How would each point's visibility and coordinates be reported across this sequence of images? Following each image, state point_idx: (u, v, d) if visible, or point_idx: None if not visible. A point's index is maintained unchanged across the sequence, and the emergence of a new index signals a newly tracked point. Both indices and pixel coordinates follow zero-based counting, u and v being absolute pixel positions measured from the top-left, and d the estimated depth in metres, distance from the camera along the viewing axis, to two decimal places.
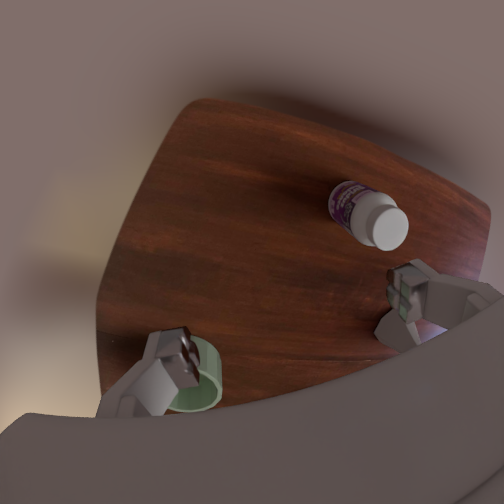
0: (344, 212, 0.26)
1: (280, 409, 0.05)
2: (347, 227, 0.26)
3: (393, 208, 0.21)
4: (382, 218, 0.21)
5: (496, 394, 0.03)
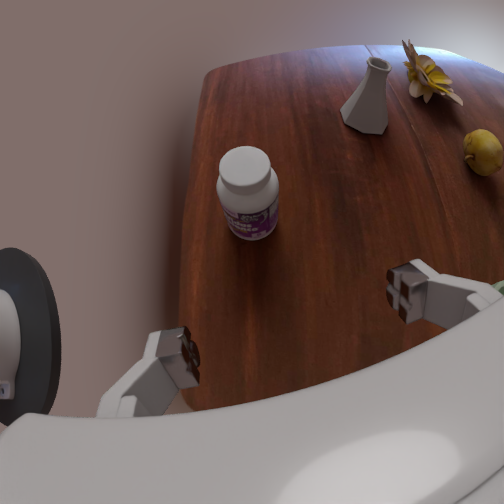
0: (254, 221, 0.24)
1: (280, 409, 0.05)
2: (268, 211, 0.24)
3: (220, 172, 0.21)
4: (234, 180, 0.20)
5: (496, 394, 0.03)
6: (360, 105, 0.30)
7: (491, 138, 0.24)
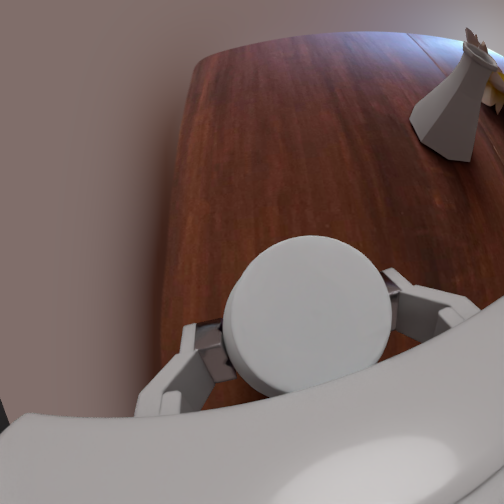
0: None
1: (280, 409, 0.05)
2: None
3: (235, 341, 0.06)
4: (286, 377, 0.06)
5: (496, 394, 0.03)
6: (449, 116, 0.16)
7: None
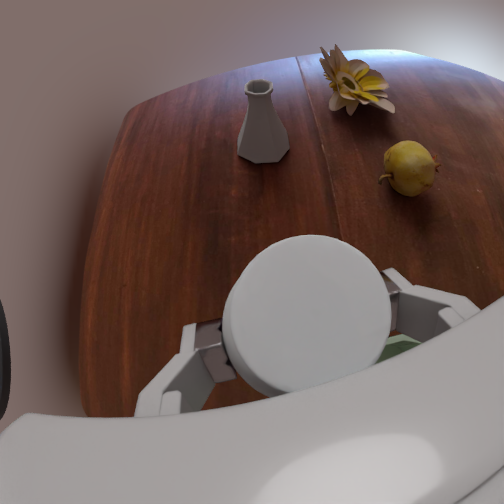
0: None
1: (280, 409, 0.05)
2: None
3: (234, 340, 0.06)
4: (286, 376, 0.06)
5: (496, 395, 0.03)
6: (247, 135, 0.32)
7: (416, 151, 0.26)
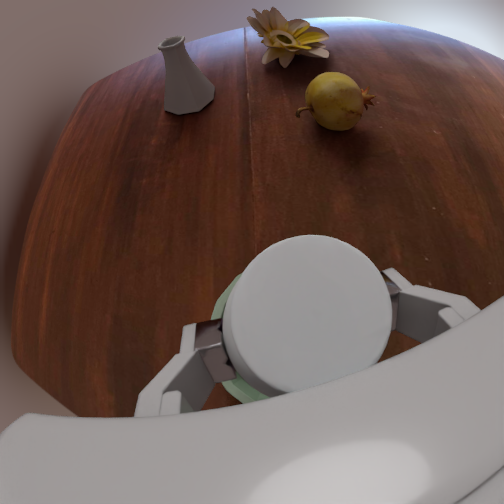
0: None
1: (280, 409, 0.05)
2: None
3: (235, 341, 0.06)
4: (286, 377, 0.06)
5: (497, 394, 0.03)
6: (168, 88, 0.30)
7: (334, 78, 0.24)
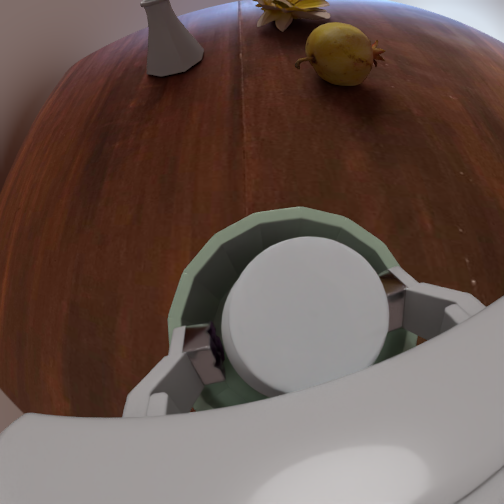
0: None
1: (280, 409, 0.05)
2: None
3: (233, 341, 0.06)
4: (285, 377, 0.06)
5: (496, 394, 0.03)
6: (151, 48, 0.23)
7: (339, 26, 0.18)
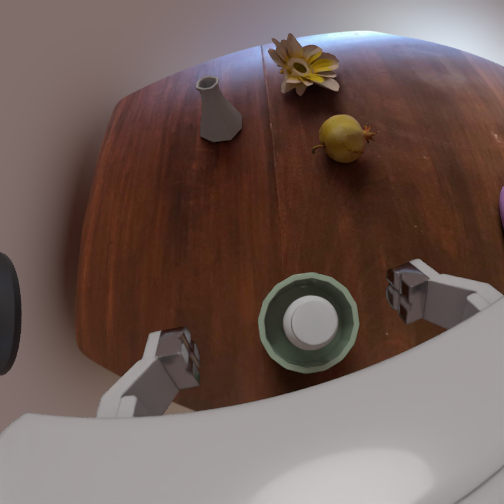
0: None
1: (280, 409, 0.05)
2: None
3: (293, 330, 0.23)
4: (307, 339, 0.22)
5: (496, 394, 0.03)
6: (204, 120, 0.38)
7: (343, 123, 0.32)
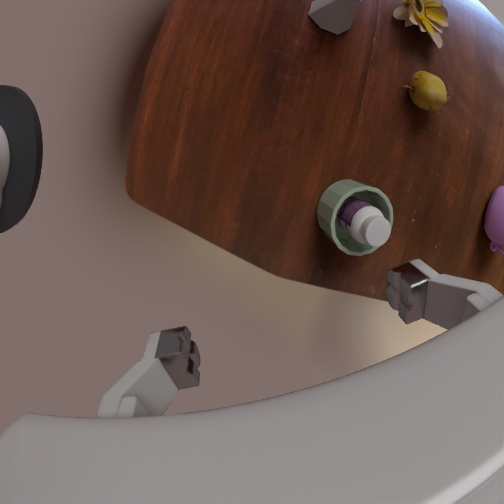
0: None
1: (280, 409, 0.05)
2: None
3: (365, 233, 0.33)
4: (370, 241, 0.33)
5: (496, 394, 0.03)
6: (326, 9, 0.26)
7: (438, 88, 0.29)
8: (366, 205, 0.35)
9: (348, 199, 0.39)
